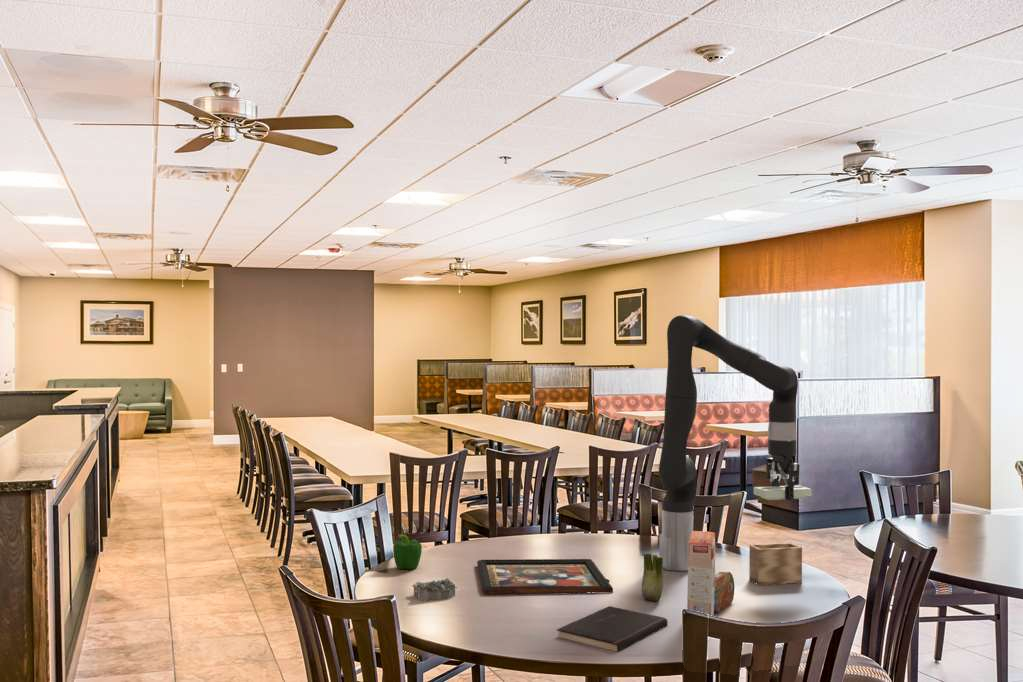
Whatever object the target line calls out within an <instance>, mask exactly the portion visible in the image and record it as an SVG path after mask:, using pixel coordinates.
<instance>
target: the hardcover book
mask: <svg viewBox="0 0 1023 682" xmlns="http://www.w3.org/2000/svg"><path fill="white" fill-rule="evenodd" d="M665 626H666V627H667V626H668V619H667V618H666V617H664V616H663V617H662V616H658V615H655V614H654V615H653V614H649V613H643V612H638V611H634V610H629V609H626V608H620V607H616V606H610V605H609V606H606V607H604V608H601V609H599V610H597V611H595V612H593V613H590V614H588V615H586V616H584V617H582V618H579V619H577V620H574V621H573V622H570V623H568V624H566V625H564V626H561V627H559V628H557V629H556V631H557V632H558V633H557V634H558V638H561V639H565V640H569V641H574V642H577V643H582V644H585V645H588V646H594V647H598V648H601V649H606V650H609V651H613V652H617V653H619V652H620V651H623V650H624V649H626V648H628V647H630V646H632V645H634V644H635V642H636V643H638V642H639V641H642V640H643V639H645V638H647V637H648V635H649V636H650V634H651V635H653V634H654V633H653V632H655V633H657V632H658V631H660V630H662V629H664V628H666V627H665ZM663 627H664V628H663ZM661 628H662V629H661ZM659 629H660V630H659ZM652 633H653V634H652ZM646 636H647V637H646ZM644 637H645V638H644ZM637 641H638V642H637Z"/></svg>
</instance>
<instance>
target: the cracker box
mask: <svg viewBox="0 0 1023 682" xmlns="http://www.w3.org/2000/svg"><path fill="white" fill-rule="evenodd" d="M715 575H716V533H715V532H711V531H704V530H703V531H700V530H693V531H692V534H691V537H690V540H689V543H688V570H687V597H686V598H687V599H686V600H687V604H686V605H687V606H686V607H687V609H686V611H687V610H693V611H699V612H703V613H707V614H709V615H712V616H714V615H715V612H714V590H715Z"/></svg>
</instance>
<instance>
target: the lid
mask: <svg viewBox="0 0 1023 682" xmlns="http://www.w3.org/2000/svg"><path fill="white" fill-rule="evenodd" d="M785 487H786V486H785V485H780V486H772V485H771V486H753V495H754V496H758V497H760V498H761V499H763V500H767V501H777V500H786V499H785ZM812 495H813V494H812V488H809V487H807V486H806V487H805V486H803V485H800V484H798V485H795V486H794V499H793V500H797V499H798V500H801V499H803V500H804V499H805V497H812Z"/></svg>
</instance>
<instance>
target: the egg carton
mask: <svg viewBox="0 0 1023 682" xmlns="http://www.w3.org/2000/svg"><path fill="white" fill-rule="evenodd" d="M411 586H412V587H413V597H414V598H417V601H423V602H428V601H429V600H440V599H442V598H449V599H453V597H456V589H458V587H457V586H456V584H455V583H454V582H453V581H451V580H450V579H449V578H445V579H442V580H441V579H440V580H436V581H435V580H432V581H425V582H421V581H417V582H415V583H413V585H411Z"/></svg>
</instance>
